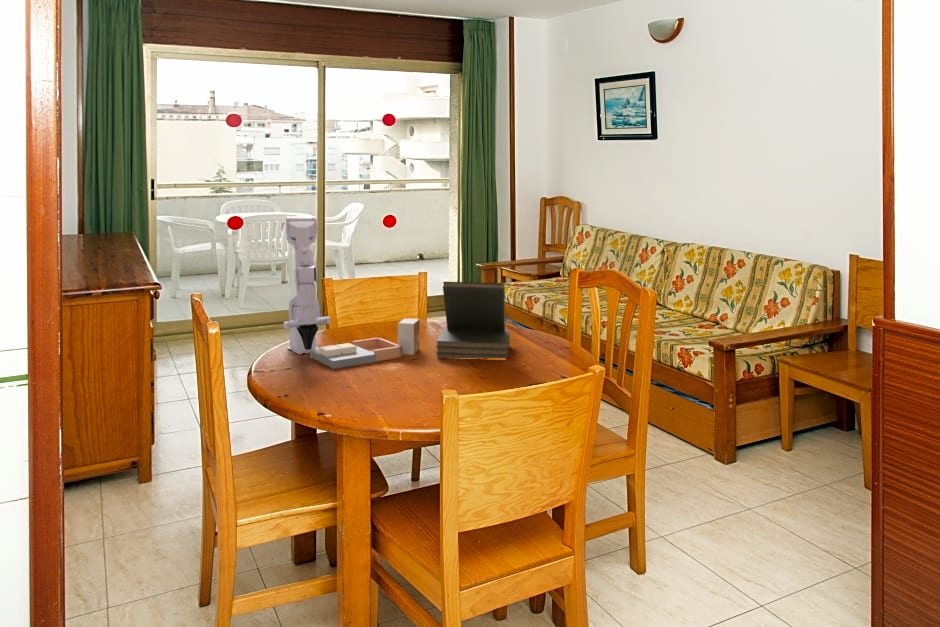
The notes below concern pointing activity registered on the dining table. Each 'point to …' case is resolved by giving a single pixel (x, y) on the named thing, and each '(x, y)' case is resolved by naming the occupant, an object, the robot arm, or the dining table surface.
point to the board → (345, 358)
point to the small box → (409, 335)
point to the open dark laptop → (474, 321)
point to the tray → (380, 348)
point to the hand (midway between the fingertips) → (307, 348)
